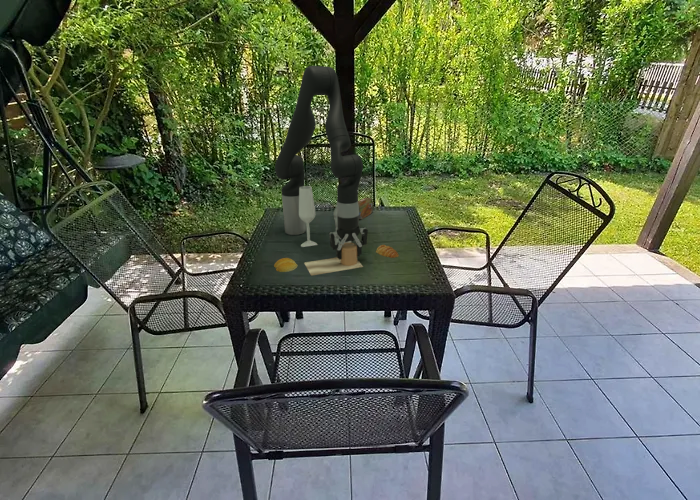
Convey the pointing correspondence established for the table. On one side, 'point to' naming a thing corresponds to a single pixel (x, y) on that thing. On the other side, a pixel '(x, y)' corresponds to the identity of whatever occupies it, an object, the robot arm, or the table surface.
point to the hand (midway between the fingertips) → (348, 257)
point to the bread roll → (285, 265)
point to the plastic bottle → (337, 226)
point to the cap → (349, 254)
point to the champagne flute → (306, 210)
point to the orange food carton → (365, 207)
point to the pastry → (387, 251)
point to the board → (328, 266)
